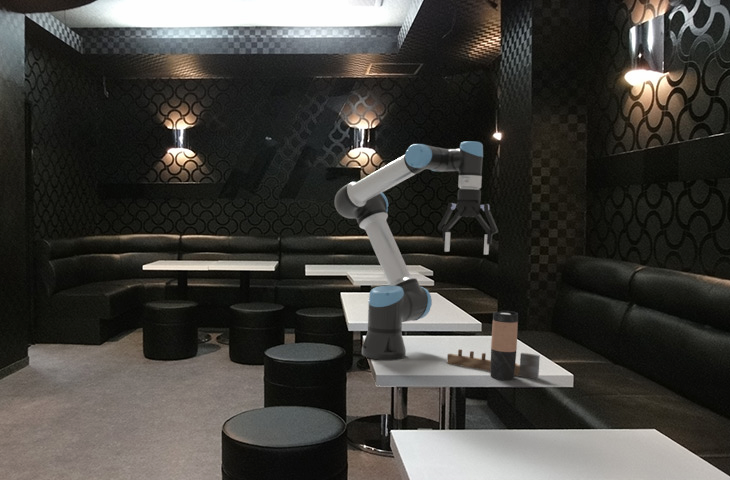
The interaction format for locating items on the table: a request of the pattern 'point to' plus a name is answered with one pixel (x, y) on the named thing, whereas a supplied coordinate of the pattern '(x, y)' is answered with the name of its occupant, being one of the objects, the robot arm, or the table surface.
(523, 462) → the table surface
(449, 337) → the table surface
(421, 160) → the robot arm
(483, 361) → the comb rail
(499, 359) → the travel mug
